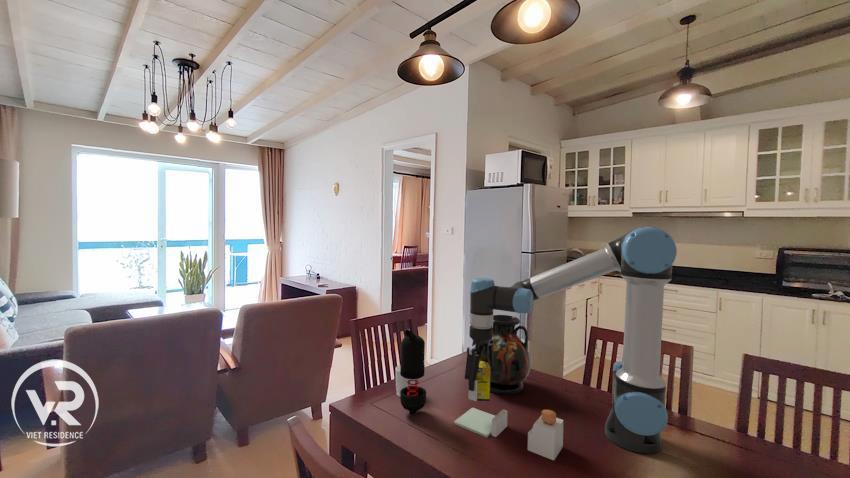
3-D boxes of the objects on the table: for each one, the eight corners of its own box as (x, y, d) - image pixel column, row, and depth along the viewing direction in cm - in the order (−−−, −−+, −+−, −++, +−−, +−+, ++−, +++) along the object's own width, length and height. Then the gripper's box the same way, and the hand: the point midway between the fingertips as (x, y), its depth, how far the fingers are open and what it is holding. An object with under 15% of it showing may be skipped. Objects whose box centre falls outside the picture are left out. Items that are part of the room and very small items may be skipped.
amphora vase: (473, 395, 136) (474, 322, 135) (477, 373, 157) (478, 310, 156) (531, 402, 131) (533, 327, 130) (528, 378, 152) (529, 313, 151)
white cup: (419, 392, 137) (419, 367, 137) (407, 400, 131) (408, 374, 130) (403, 387, 141) (403, 362, 141) (390, 395, 135) (391, 369, 135)
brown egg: (557, 434, 103) (558, 412, 103) (553, 441, 100) (553, 418, 100) (543, 429, 105) (544, 408, 105) (538, 435, 102) (539, 413, 102)
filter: (419, 424, 115) (420, 332, 114) (393, 418, 118) (395, 329, 118) (433, 405, 128) (434, 322, 127) (409, 400, 131) (411, 319, 130)
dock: (562, 446, 104) (563, 420, 104) (553, 460, 98) (554, 432, 98) (502, 424, 116) (503, 400, 115) (491, 435, 109) (492, 409, 109)
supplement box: (489, 401, 113) (490, 367, 113) (471, 401, 113) (472, 367, 113) (486, 393, 119) (487, 360, 119) (469, 392, 119) (470, 360, 119)
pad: (504, 421, 118) (504, 419, 118) (486, 437, 108) (486, 435, 108) (472, 409, 125) (472, 407, 125) (453, 424, 115) (453, 421, 115)
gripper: (486, 318, 126) (484, 381, 127) (454, 330, 110) (452, 403, 110) (505, 321, 122) (503, 387, 122) (475, 335, 105) (473, 411, 106)
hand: (479, 394), depth 116 cm, fingers closed on supplement box, 8 cm apart
